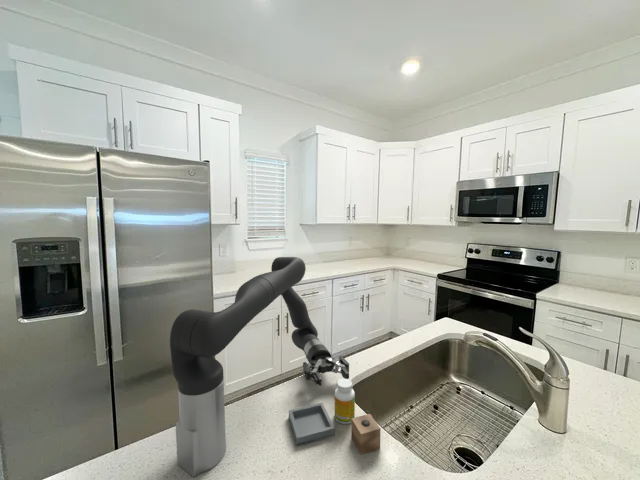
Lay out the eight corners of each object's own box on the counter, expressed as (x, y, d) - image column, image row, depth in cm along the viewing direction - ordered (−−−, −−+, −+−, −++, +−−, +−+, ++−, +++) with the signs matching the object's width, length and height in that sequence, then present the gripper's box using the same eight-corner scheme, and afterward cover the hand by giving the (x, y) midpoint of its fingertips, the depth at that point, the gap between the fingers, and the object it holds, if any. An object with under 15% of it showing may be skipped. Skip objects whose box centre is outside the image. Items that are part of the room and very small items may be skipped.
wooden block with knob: (360, 454, 61) (361, 433, 61) (351, 437, 66) (351, 418, 65) (380, 448, 63) (380, 428, 62) (369, 432, 67) (369, 413, 67)
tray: (297, 446, 63) (297, 438, 63) (288, 417, 72) (288, 410, 72) (335, 435, 66) (335, 427, 66) (322, 409, 75) (322, 402, 75)
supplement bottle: (353, 426, 69) (354, 390, 69) (333, 423, 70) (333, 387, 70) (355, 411, 75) (355, 378, 74) (336, 408, 76) (336, 375, 75)
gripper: (297, 346, 92) (310, 372, 76) (335, 340, 96) (356, 363, 81) (297, 368, 92) (311, 397, 77) (335, 361, 97) (356, 387, 82)
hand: (334, 380), depth 79 cm, fingers open, 8 cm apart
